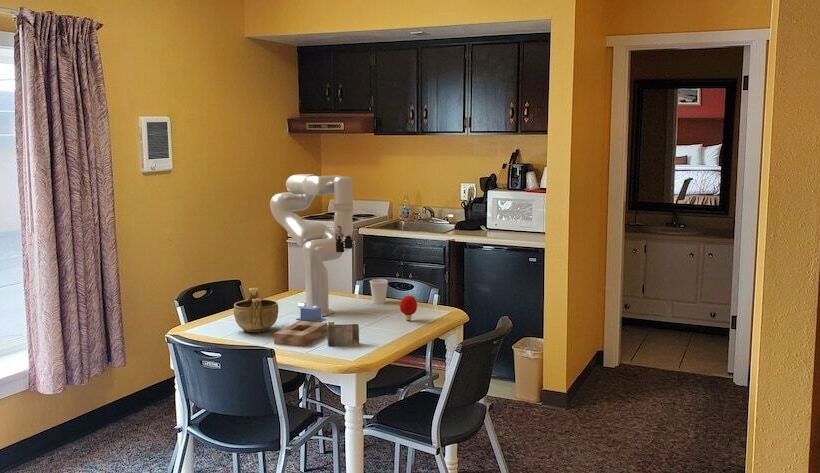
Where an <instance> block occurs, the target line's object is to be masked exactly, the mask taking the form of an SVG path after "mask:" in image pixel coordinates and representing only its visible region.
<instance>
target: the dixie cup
mask: <svg viewBox="0 0 820 473" xmlns="http://www.w3.org/2000/svg"><path fill="white" fill-rule="evenodd" d="M388 282H389V280H388V279H384V278H376V279H375V278H374V279H371V280H369V283H370V292H371V299H372V304H374V303H375V304H377V305H382V304H386V301H387V292H388V291H387V290H388Z"/></svg>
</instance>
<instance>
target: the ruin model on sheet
mask: <svg viewBox="0 0 820 473" xmlns="http://www.w3.org/2000/svg"><path fill="white" fill-rule="evenodd" d="M327 331H328V333H327V347H329V345H330V346H331V345H334V346H333V347H342V346H343V347H345V346H347V347H348V346H360V324H359V323H348V324H347V323H346V324H345V323H343V324H341V323H340V324H335V321H328V322H327Z"/></svg>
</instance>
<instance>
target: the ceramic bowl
mask: <svg viewBox="0 0 820 473" xmlns="http://www.w3.org/2000/svg"><path fill="white" fill-rule="evenodd" d="M233 316H234V319H235V322H236V324H237V325H238V326H239V328H241V329H242V330H243V331H246V332H247V333H248V332H249V333H260V332H264V331H267V330H269V329H270V328H271V327H273V325H274V324H275V323H276V322H277V319H278V316H279V303H278V301H277V300H274V299H267V298H260V296H259V290H258V287H249V288H248V298H247V299H245V300H239V301H237V302H234V304H233Z"/></svg>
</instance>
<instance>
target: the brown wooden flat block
mask: <svg viewBox="0 0 820 473" xmlns="http://www.w3.org/2000/svg"><path fill="white" fill-rule="evenodd" d="M327 325H328V322H310V321H301V320H297V321H295V322H294V323H292V324H290V325H289V324H288V326H286V327H285V326H284V327H283V328H281V329H279V330H277V331H276V332H274V333H273V343H274V345H283V346H291V347H301V346H302V348H303V347H306V346H307V345H309V344H312V343H313V342H315V341H316V340H318V339H320V338H321V337H323V336H325V335H328V331H327Z"/></svg>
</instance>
